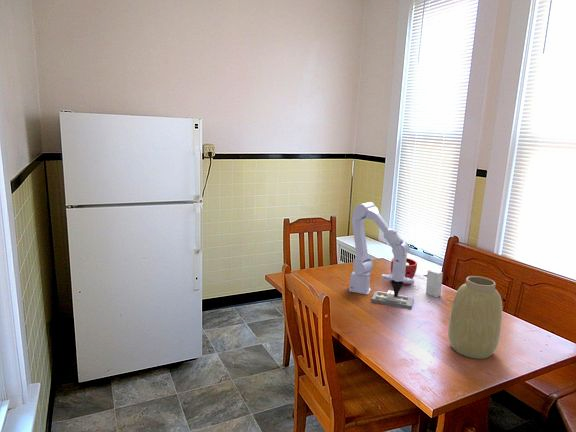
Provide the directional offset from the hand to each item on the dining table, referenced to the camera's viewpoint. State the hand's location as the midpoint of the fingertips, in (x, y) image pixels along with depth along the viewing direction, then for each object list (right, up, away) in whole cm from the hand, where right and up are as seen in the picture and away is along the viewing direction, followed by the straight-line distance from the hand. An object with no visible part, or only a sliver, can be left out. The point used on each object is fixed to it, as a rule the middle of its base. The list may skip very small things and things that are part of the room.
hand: (396, 296), depth 191 cm
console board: (-1, -3, +1) cm, 3 cm away
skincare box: (+21, -2, +11) cm, 24 cm away
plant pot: (+10, +2, +26) cm, 28 cm away
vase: (+17, -12, -39) cm, 44 cm away
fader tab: (-2, -1, +1) cm, 3 cm away
